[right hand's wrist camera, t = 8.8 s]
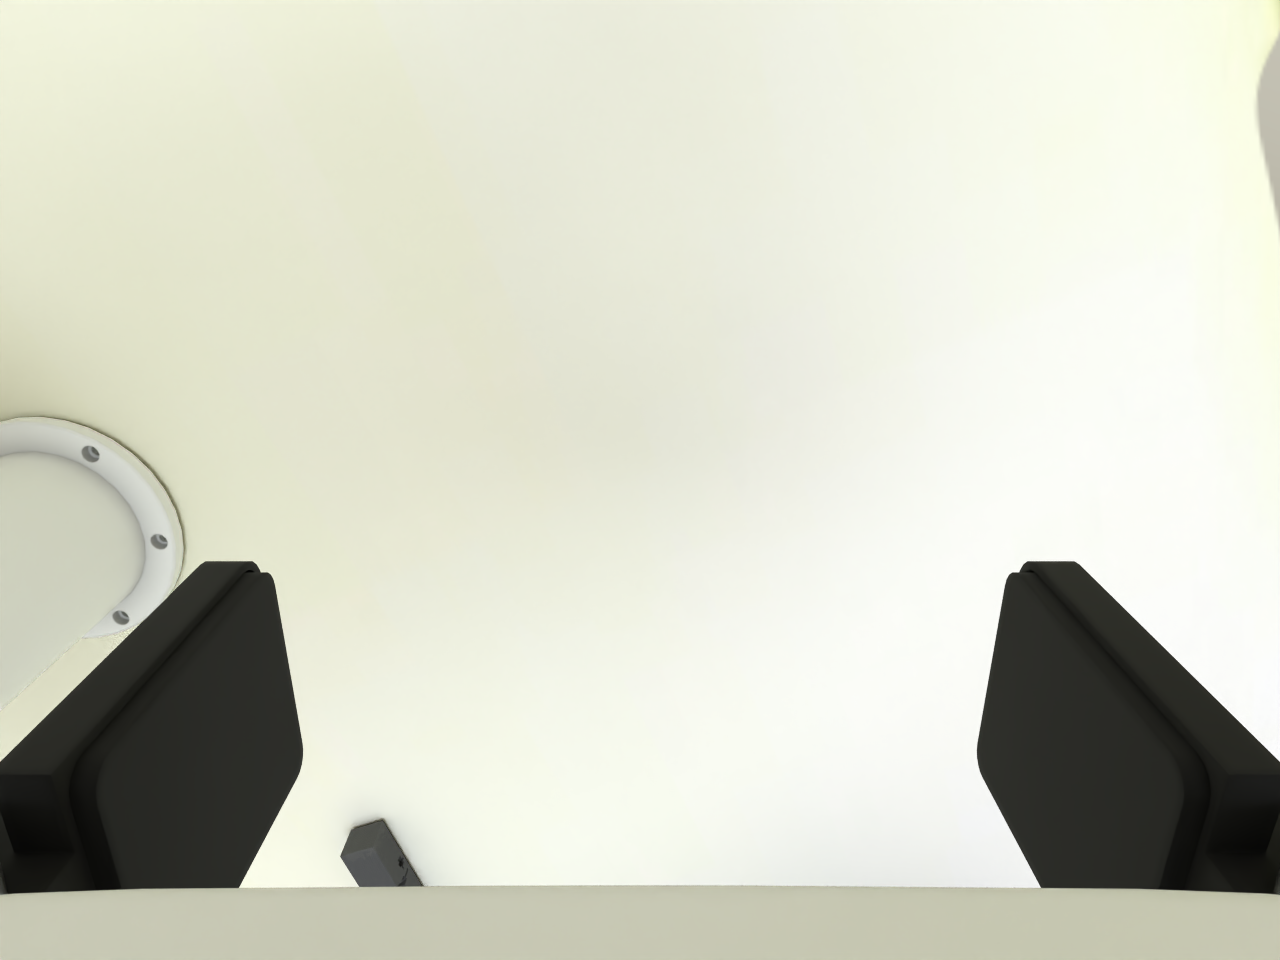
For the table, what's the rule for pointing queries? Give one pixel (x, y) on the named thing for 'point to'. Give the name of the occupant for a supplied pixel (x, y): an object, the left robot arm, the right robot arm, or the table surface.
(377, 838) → the pillar
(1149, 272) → the table surface
